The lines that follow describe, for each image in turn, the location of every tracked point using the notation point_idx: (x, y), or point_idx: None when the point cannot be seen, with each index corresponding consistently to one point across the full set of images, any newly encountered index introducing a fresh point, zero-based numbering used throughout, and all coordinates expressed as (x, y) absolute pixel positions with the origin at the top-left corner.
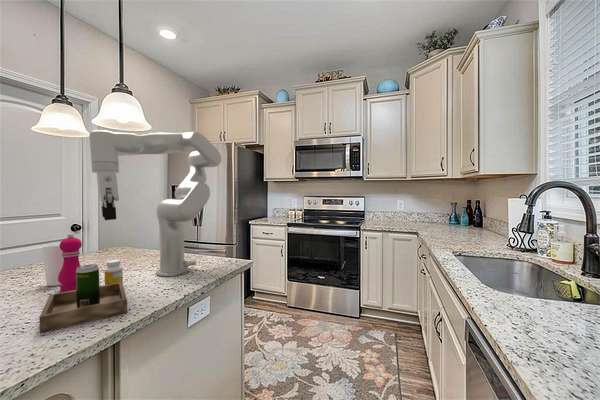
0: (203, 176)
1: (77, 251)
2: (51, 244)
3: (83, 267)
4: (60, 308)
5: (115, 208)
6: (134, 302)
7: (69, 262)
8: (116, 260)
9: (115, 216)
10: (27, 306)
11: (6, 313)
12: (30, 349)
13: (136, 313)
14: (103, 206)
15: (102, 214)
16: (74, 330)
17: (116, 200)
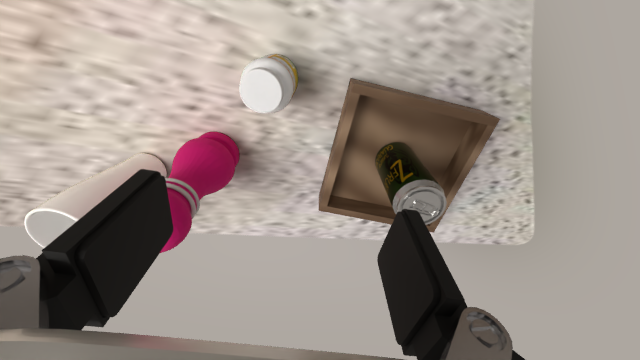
0: None
1: (179, 192)
2: (37, 239)
3: (421, 215)
4: (354, 190)
5: (455, 288)
6: (438, 77)
7: (204, 194)
8: (258, 81)
9: (420, 226)
10: (280, 216)
11: (293, 236)
12: (466, 227)
13: (503, 97)
14: (106, 314)
15: (158, 250)
16: (462, 186)
17: (200, 341)
